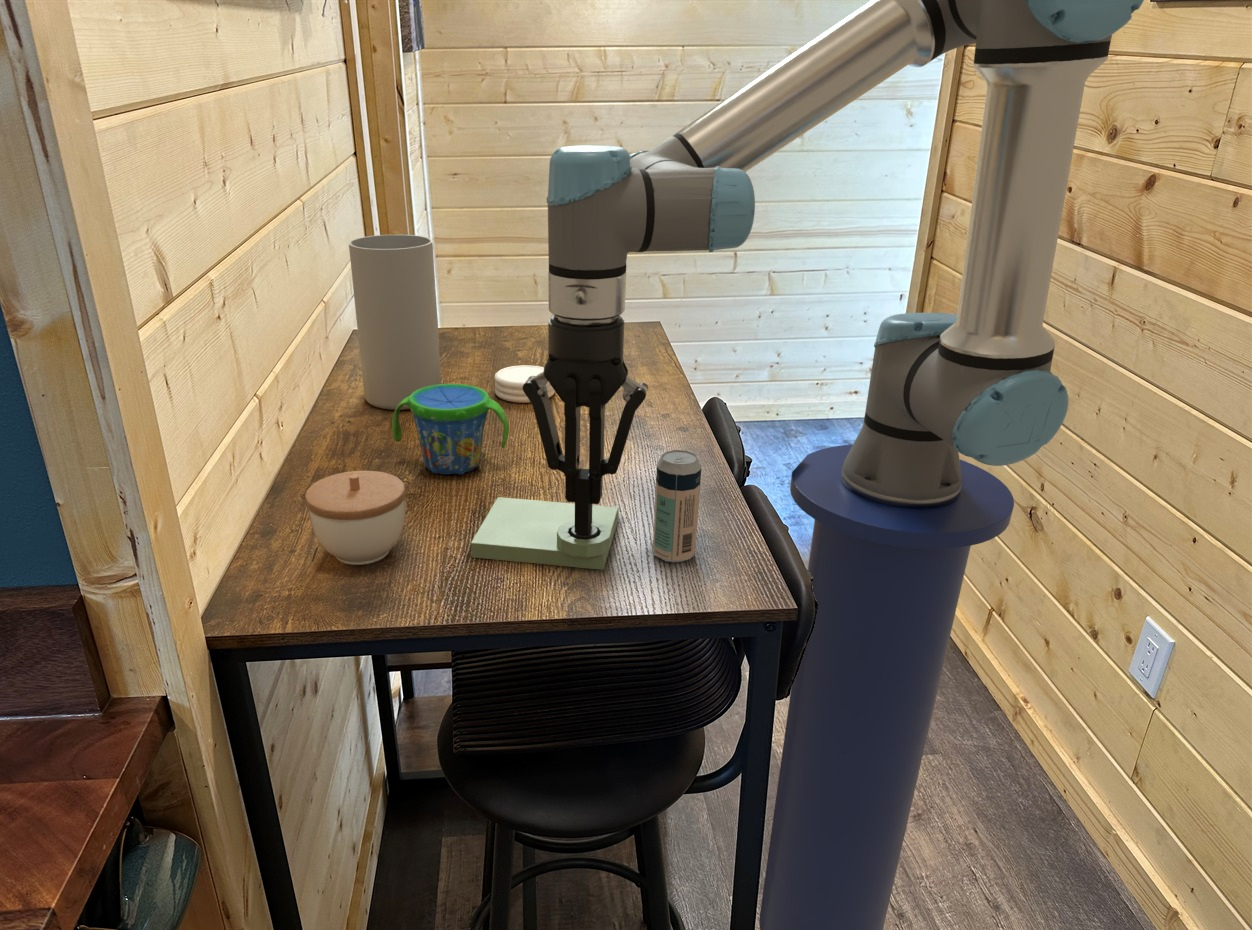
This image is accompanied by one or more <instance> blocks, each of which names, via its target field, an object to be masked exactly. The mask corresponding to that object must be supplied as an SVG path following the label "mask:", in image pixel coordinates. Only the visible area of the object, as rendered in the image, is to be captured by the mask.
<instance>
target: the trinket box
mask: <svg viewBox="0 0 1252 930" xmlns="http://www.w3.org/2000/svg"><path fill="white" fill-rule="evenodd" d="M304 500H305V506H306V508H307V512H308V517H309V522H310V527H311V529H312V532H313V534H314V536H315V538H316V540H317V542H318V543H319V545H320V546H321V547H322V548H323V549H324V550H325V551H326V552H327V553H328V554H330V555H332V556H333V557H335V559H336V560H337V561H338V562H340V563H343V564H346V565H351V566H362V565H369V564H373V563H376V562H378V561H381V560H382V559H384V558H385V557H387V555H388V554H389V553H390V551H391V550H392V549H393V547H395V545H396V544H397V543H398V541H399V540H400V537H402V533H403V530H404V527H405V522H406V487H405V484H404V482H403V481H402V479H400V478H399V477H397V476H396V475H393V474H390V473H388V472H384V471H376V470H353V471H344V472H340V473H335V474H331V475H328V476H325V477H323V478H321V479H319V480H317V481H316V482H314V483H313V484H311V485H310V486H309V487H308V489H307V490H306V492H305V495H304Z"/></svg>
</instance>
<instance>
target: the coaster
mask: <svg viewBox="0 0 1252 930" xmlns="http://www.w3.org/2000/svg"><path fill="white" fill-rule="evenodd" d="M544 367H545V366H539V365H530V364H526V365H525V364H523V365H511V366H507V367H503V368H501V369H499V370H498V371H496V372H495V374H494V377H493V378H494V393H495V395H496V396H497V397H498V398H499V399H501V400H503V401H507V402H510V403H519V404H521V403H522V404H527V403H528V404H529V403H531V402H530V400H529V399H528V397H527V396H526V394H525V393H524V391H523V385H524V384H525V382H526V381H527V379H528V378H529V377H530V376H537V375H538V374H540V373H542V372H543V371H544ZM548 386H549V390H548V392H547V394H548V397H549V399H550V398H552V397H553V396H554V395H555V394H556V392H555V390H554V389H553V387H552V386H551V385H550V383H549V382H548ZM531 404H532V403H531Z"/></svg>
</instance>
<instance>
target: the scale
mask: <svg viewBox="0 0 1252 930" xmlns="http://www.w3.org/2000/svg"><path fill="white" fill-rule="evenodd" d="M619 510H620V509H619V507H618V506H607V505H599V504H592V524H591V525H593V526H595V527H596V528H597V529H598V536H597V537H596V538H593V539H587V540H584V539H576V538H574V537H571V528H572V527H573V526H575V502H561V501H550V500H537V499H525V498H514V497H500V496H497V497H496V499H495V500H494V503H493V504H492V506H491V508H490V510H489V511H488V513H487V514H486V516H485V518H484V520H483V521H482V523H481V524H480V526H479V528H478V530H477V531H476V533H475V534H474V537H473V538H472V540H471V542H470V556H471V558H473V559H485V560H494V561H495V560H496V561H506V562H508V561H509V562H516V563H517V562H518V563H527V564H536V565H537V564H538V565H547V566H559V567H567V568H568V567H569V568H579V569H589V570H598V571H599V570H601V571H604V569H605V567H606V562H607V559H608V556H609V553H610V549H611V546H612V542H613V541H614V540H613V539H614V536H615V534H616V529H617V526H618V523H619Z"/></svg>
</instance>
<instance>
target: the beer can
mask: <svg viewBox="0 0 1252 930" xmlns="http://www.w3.org/2000/svg"><path fill="white" fill-rule="evenodd" d="M701 478H702V464H701V462H700V459H699V458H698V455H697V454H696V453H695V452H691V451H689V450H683V449H682V450H681V449H673V450H668V451H664V453H662V454H661V456H660V457H659V459H658V461H657V463H656V477H655V479H656V480H655V491H654V492H655V493H654V494H655V495H654V496H655V497H654V515H653V533H652V534H653V536H652V553H653V554H654V556H656V557H657V558H659V559H660V560H662V561H664V562H667V563H682V562H685V561H689V560H690V559H692V557H694V556H695V554H696V546H697V532H698V521H699V519H698V518H699V507H700V506H699V505H700V493H701V492H700V491H701V480H702V479H701Z"/></svg>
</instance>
